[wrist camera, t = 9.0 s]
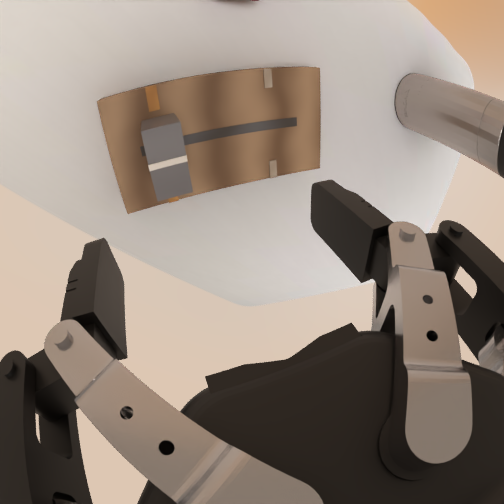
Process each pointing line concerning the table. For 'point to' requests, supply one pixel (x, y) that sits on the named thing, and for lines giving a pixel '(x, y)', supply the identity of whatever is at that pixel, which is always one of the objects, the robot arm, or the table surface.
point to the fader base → (218, 128)
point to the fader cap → (166, 156)
